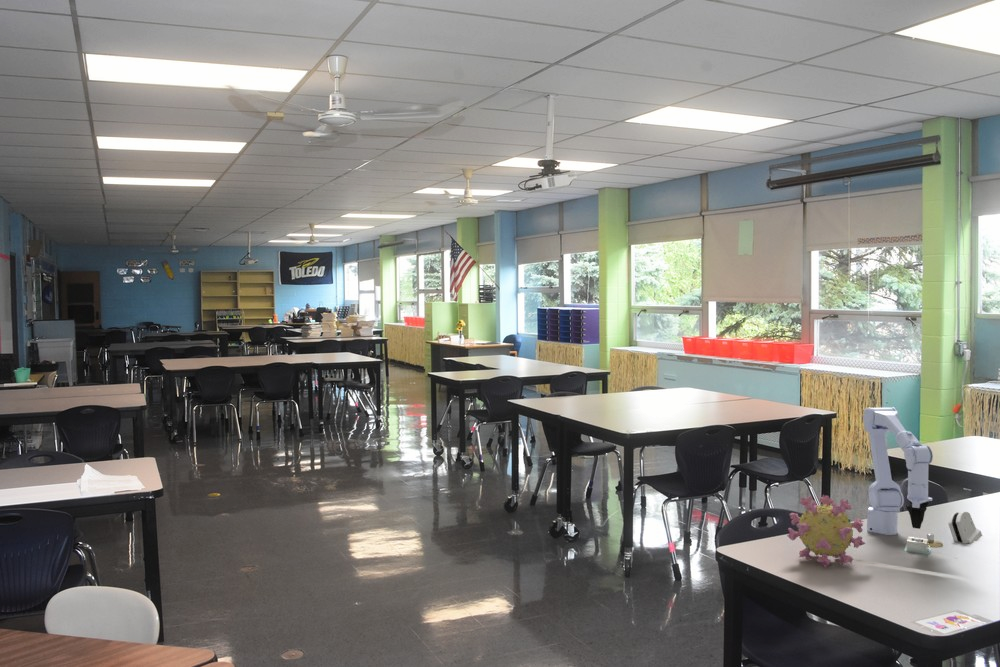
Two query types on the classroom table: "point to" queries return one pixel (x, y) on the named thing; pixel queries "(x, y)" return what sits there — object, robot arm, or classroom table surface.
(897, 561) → the classroom table surface
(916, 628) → the classroom table surface
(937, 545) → the hub
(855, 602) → the classroom table surface
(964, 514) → the hinge
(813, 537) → the educational model
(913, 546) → the hollow square metal tube
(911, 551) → the stand
